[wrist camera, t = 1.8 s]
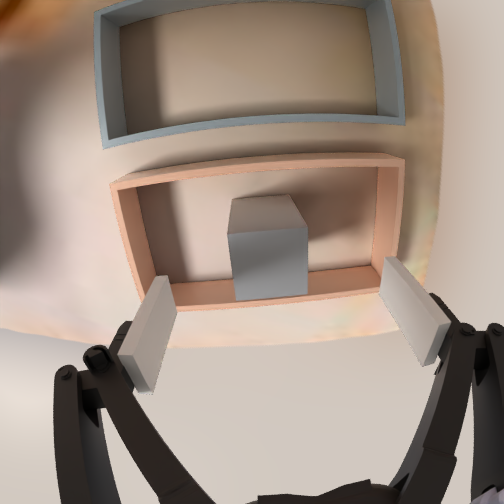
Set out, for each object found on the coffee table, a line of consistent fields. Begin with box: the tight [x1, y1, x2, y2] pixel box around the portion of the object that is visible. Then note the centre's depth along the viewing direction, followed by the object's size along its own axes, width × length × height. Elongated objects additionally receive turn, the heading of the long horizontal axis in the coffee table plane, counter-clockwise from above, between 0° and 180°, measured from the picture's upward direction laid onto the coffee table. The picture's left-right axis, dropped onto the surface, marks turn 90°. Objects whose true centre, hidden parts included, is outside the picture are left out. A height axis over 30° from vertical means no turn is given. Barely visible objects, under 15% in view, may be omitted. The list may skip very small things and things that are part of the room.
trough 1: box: [94, 0, 405, 149], centre depth 17 cm, size 23×12×4 cm, turn 95°
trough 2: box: [109, 152, 405, 312], centre depth 24 cm, size 23×12×4 cm, turn 95°
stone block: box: [227, 195, 308, 301], centre depth 22 cm, size 5×5×8 cm
